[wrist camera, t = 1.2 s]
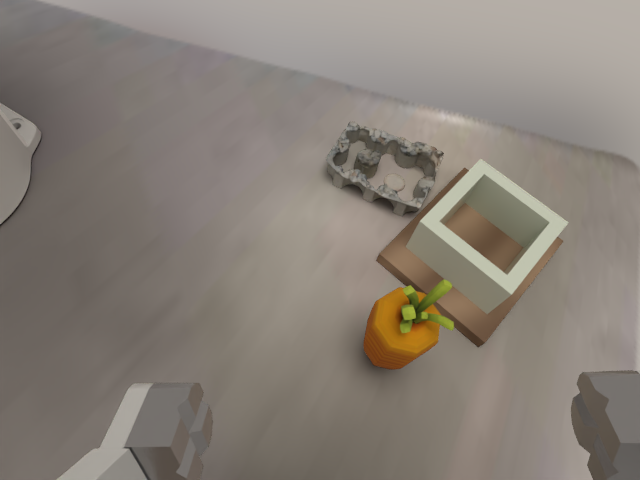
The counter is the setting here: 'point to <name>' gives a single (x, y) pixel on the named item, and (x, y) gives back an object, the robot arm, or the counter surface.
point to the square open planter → (501, 210)
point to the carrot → (404, 326)
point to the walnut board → (425, 279)
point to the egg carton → (369, 161)
